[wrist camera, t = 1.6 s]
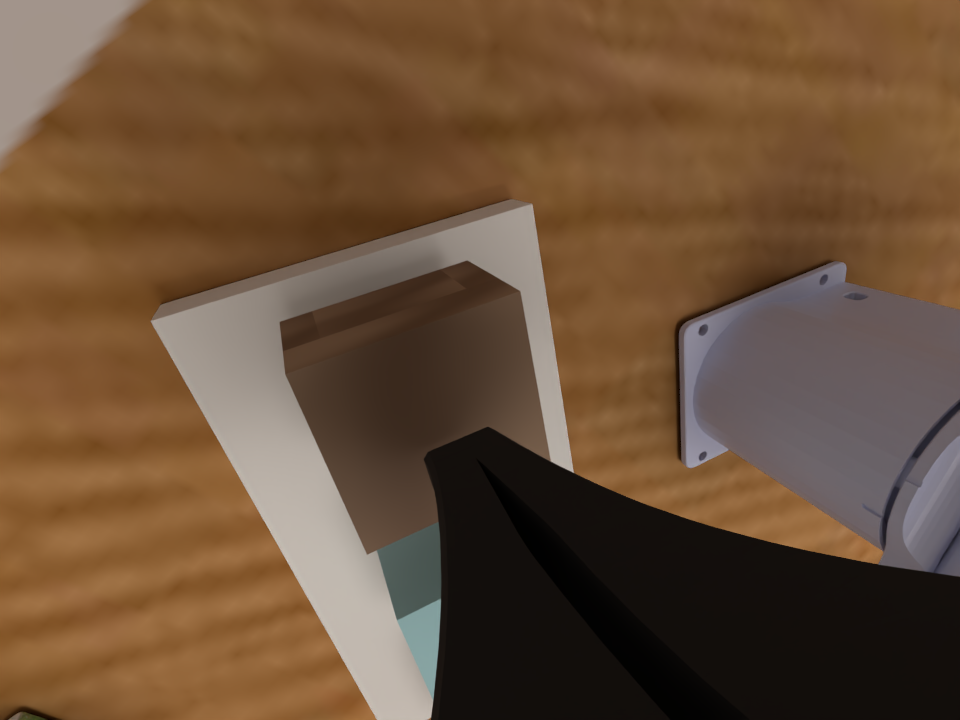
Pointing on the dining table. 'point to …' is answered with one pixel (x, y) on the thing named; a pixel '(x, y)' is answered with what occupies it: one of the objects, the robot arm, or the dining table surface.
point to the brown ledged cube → (411, 388)
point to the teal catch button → (416, 594)
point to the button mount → (290, 443)
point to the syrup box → (25, 717)
